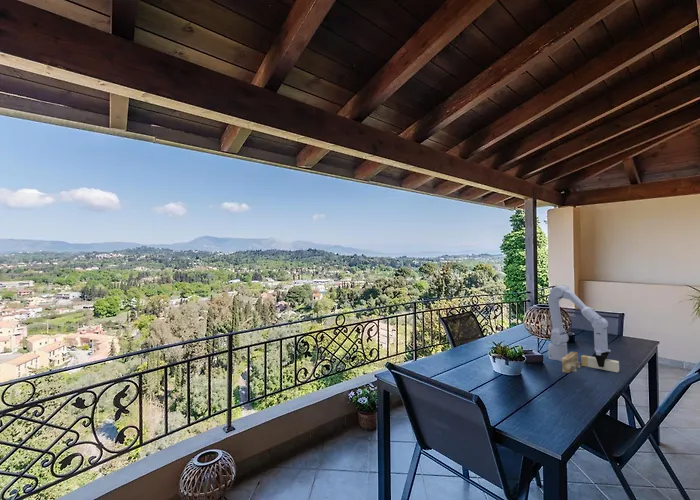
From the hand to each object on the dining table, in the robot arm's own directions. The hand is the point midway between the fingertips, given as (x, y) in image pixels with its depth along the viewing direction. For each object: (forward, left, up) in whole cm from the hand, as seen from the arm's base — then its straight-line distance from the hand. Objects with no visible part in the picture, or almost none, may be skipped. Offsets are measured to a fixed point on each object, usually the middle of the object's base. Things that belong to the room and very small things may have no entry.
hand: (601, 365), depth 176 cm
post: (-12, -11, -1) cm, 16 cm away
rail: (-1, 0, -1) cm, 2 cm away
